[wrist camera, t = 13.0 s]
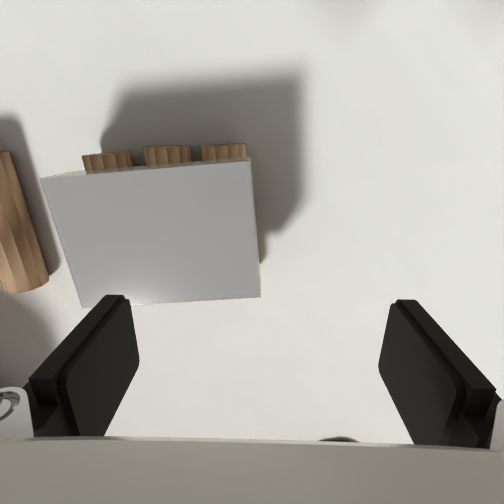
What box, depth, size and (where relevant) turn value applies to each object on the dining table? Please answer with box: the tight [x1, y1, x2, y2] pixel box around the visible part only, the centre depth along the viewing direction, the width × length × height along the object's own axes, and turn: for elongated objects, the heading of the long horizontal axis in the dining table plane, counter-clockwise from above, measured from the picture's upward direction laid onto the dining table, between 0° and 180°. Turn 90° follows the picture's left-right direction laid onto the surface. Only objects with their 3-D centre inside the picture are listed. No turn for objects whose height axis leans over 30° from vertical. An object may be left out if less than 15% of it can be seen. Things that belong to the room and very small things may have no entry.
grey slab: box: [40, 157, 261, 308], centre depth 23 cm, size 10×14×4 cm
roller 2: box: [82, 152, 132, 171], centre depth 27 cm, size 12×4×4 cm, turn 4°
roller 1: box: [0, 151, 49, 293], centre depth 27 cm, size 12×4×4 cm, turn 2°
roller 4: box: [200, 143, 246, 161], centre depth 26 cm, size 12×4×4 cm, turn 4°
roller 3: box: [143, 145, 191, 166], centre depth 27 cm, size 12×4×4 cm, turn 2°
